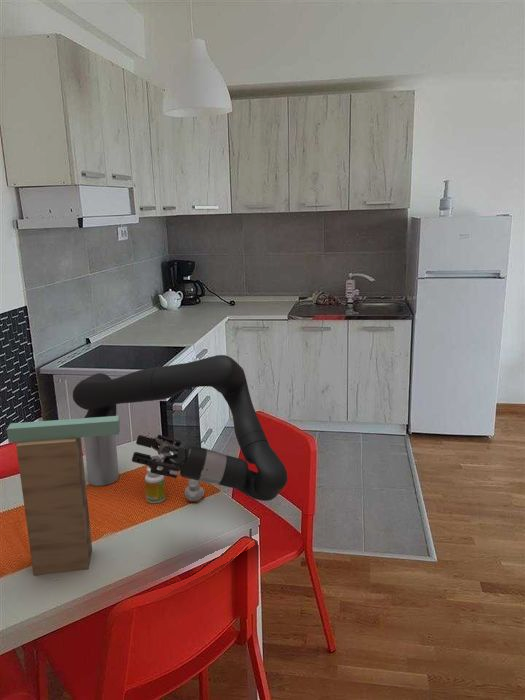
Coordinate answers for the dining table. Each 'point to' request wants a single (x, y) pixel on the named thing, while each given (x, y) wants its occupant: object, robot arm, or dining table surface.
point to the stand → (55, 504)
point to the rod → (63, 429)
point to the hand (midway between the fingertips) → (135, 447)
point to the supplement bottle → (154, 487)
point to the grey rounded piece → (194, 490)
